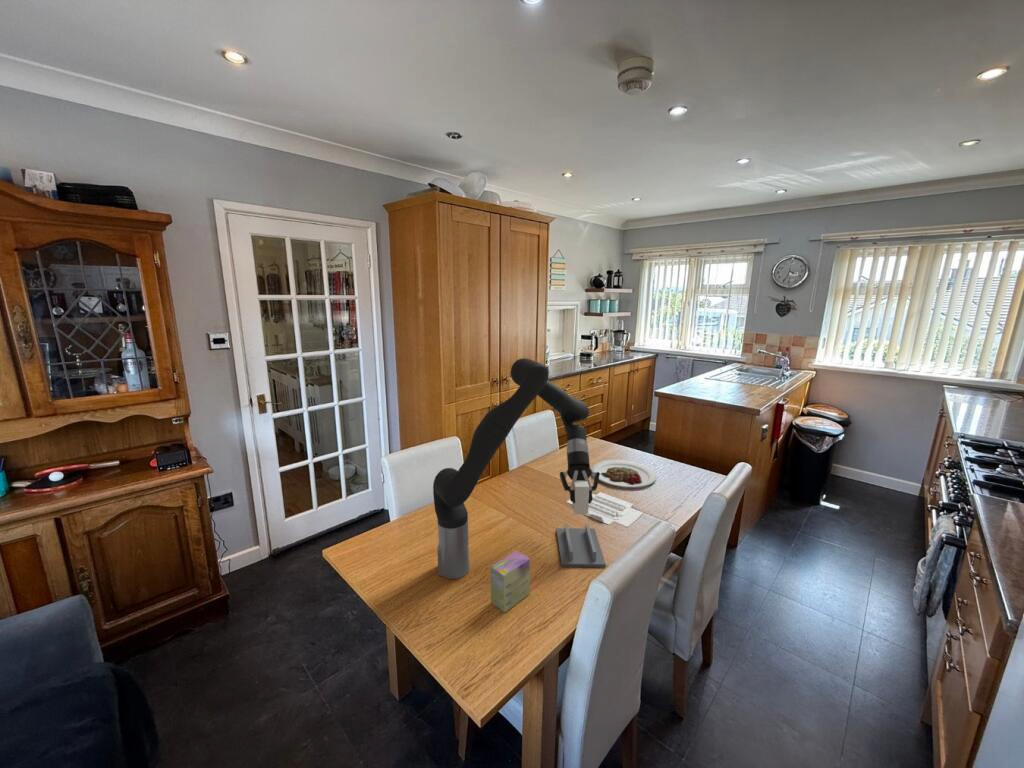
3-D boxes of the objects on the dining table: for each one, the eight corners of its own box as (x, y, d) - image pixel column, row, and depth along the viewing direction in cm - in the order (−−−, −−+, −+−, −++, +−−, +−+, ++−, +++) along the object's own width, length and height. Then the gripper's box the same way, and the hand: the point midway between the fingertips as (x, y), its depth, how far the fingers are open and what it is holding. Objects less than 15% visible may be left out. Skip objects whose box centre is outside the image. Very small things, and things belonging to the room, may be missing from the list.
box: (516, 584, 121) (516, 549, 118) (530, 594, 117) (530, 558, 114) (490, 602, 114) (489, 566, 111) (504, 613, 110) (503, 576, 107)
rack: (561, 566, 129) (561, 555, 128) (556, 530, 148) (556, 520, 147) (605, 567, 128) (606, 556, 127) (594, 531, 148) (594, 521, 147)
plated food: (605, 458, 214) (606, 452, 213) (663, 472, 197) (664, 466, 196) (580, 479, 190) (580, 472, 189) (643, 497, 173) (644, 490, 172)
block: (574, 514, 133) (575, 486, 131) (572, 507, 138) (573, 480, 135) (588, 514, 133) (589, 486, 131) (586, 507, 138) (587, 480, 135)
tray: (587, 489, 181) (588, 481, 180) (647, 513, 163) (648, 505, 162) (561, 507, 166) (561, 499, 165) (623, 535, 148) (624, 527, 147)
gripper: (558, 449, 139) (560, 499, 129) (599, 450, 138) (605, 499, 129) (556, 458, 145) (559, 505, 136) (596, 458, 145) (601, 506, 136)
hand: (581, 502), depth 133 cm, fingers closed on block, 4 cm apart
